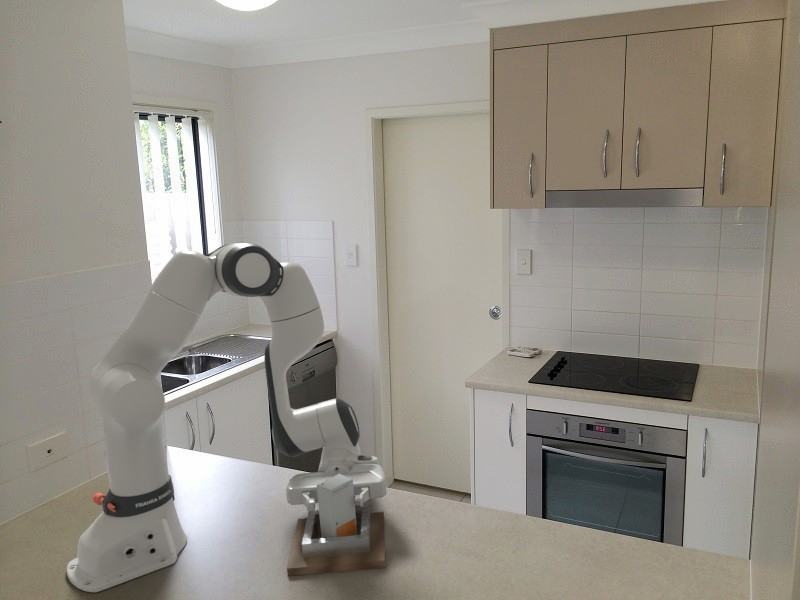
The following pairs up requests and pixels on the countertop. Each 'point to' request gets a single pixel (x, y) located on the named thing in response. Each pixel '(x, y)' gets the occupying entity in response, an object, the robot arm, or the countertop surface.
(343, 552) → the socket board
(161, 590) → the countertop surface
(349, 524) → the skincare box
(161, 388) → the robot arm
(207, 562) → the countertop surface
